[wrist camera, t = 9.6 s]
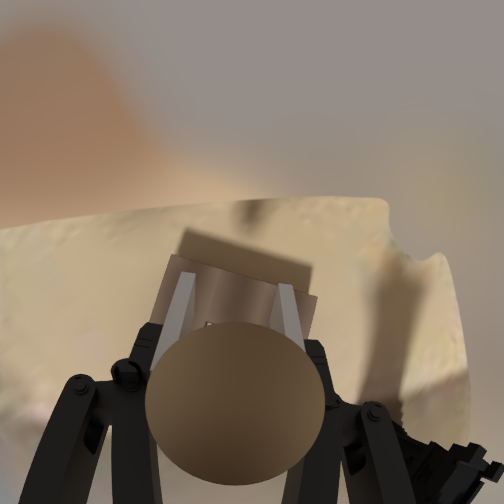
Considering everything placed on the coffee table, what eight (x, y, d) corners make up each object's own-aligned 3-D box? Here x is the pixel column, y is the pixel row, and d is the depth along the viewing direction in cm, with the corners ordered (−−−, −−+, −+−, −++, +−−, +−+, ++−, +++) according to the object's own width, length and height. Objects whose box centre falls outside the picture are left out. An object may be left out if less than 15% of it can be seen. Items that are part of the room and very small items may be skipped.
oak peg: (185, 383, 18) (130, 457, 6) (202, 322, 19) (172, 298, 7) (248, 400, 18) (296, 495, 6) (266, 340, 19) (344, 345, 7)
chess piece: (401, 428, 31) (509, 464, 12) (365, 473, 29) (456, 538, 10) (365, 401, 32) (480, 438, 13) (326, 450, 30) (414, 528, 11)
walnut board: (138, 391, 30) (128, 398, 26) (176, 263, 34) (171, 254, 30) (271, 429, 30) (278, 440, 26) (307, 301, 35) (317, 296, 31)
